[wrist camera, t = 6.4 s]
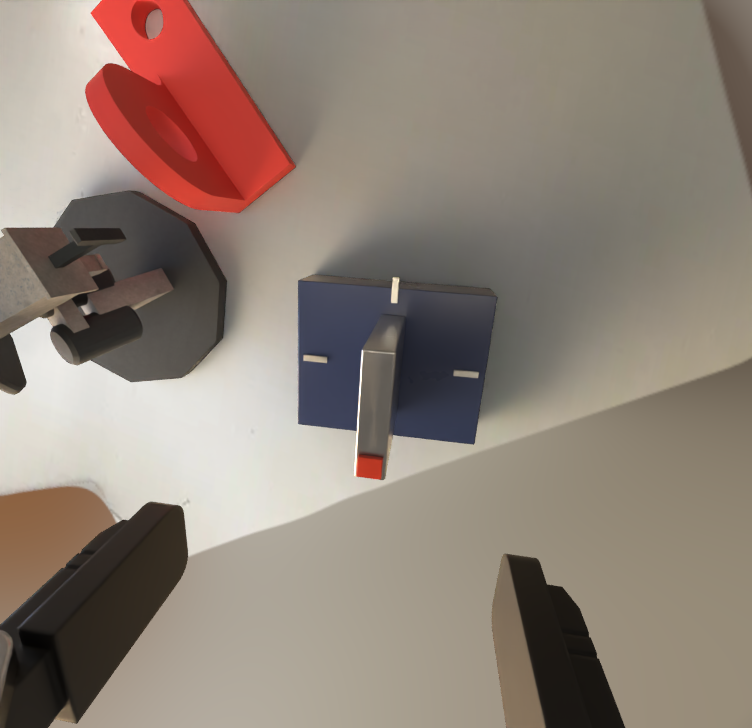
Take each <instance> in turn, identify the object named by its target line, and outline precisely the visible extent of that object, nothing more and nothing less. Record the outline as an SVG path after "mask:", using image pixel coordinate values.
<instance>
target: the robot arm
mask: <svg viewBox="0 0 752 728" xmlns="http://www.w3.org/2000/svg"><path fill="white" fill-rule="evenodd" d="M187 559H188V548H187V539H186V529H185V520H184V512H183V509H182V507H181V506H178V505H171V504H164V503H158V502H149V503H147V504H145V505H144V506H143V507H142V508H141V509H140V510H139V511H138V512H137V513H136V514H135V515H134V516H133V517H132V518H131V519H129V520H122V521H120V522H118V523H117V524H115V525H113V526H111V527H110V528H108V529H106V530H105V531H103V532H101V533H100V534H98V535H97V536H96V537H95V538H94V539H93V540H92V541H91V542H90V543H89V544H88V545H86V546H85V547H84V548H83V549H82V551H81V553H80V554H79V553H78V554H77V555H76V556H74V557H73V558H72V559H71V560H70V561H69V562H68V563H67V564H66V567H65V568H61V569H60V570H59V571H58V572H57V573H56V574H55V575H54V576H53V577H52V578H51V579H49V580H48V581H47V582H46V583H45V584H44V585H43V586H42V587H41V588H40V589H39V590H38V591H36V592H35V593H34V594H33V595H32V596H31V597H30V598H29V599H28V600H27V601H26V602H24V603H23V604H22V605H21V606H20V607H19V608H18V609H17V610H16V611H15V612H14V613H13V614H11V615H10V616H9V617H8V618H7V619H6V620H5V621H4V622H3V623H2V624H0V728H48V727H49V726H50V724H51V723H52V722H53V720H54V719H57V720H62V721H66V722H72V723H76V724H77V723H78V721H79V720H80V719H81V717H82V716H83V714H84V713H85V712H86V710H87V709H88V707H89V706H90V705H91V703H92V702H93V700H94V699H95V698H96V696H97V695H98V694H99V692H100V691H101V689H102V688H103V687H104V685H105V684H106V682H107V681H108V679H109V678H110V677H111V675H112V674H113V673H114V671H115V670H116V668H117V667H118V666H119V664H120V662H121V661H122V660H123V659H124V657H125V656H126V654H127V653H128V652H129V650H130V649H131V647H132V646H133V645H134V643H135V642H136V640H137V639H138V638H139V636H140V635H141V634H142V632H143V631H144V629H145V628H146V627H147V625H148V624H149V622H150V621H151V619H152V618H153V617H154V615H155V614H156V612H157V611H158V610H159V608H160V607H161V606H162V604H163V603H164V601H165V600H166V599H167V597H168V596H169V594H170V593H171V592H172V590H173V589H174V587H175V586H176V585H177V583H178V582H179V580H180V579H181V577H182V575H183V573H184V570H185V568H186V564H187ZM492 632H493V639H494V646H495V653H496V660H497V667H498V674H499V680H500V687H501V694H502V701H503V708H504V715H505V722H506V728H625V726H624V724H623V721H622V718H621V716H620V713H619V710H618V708H617V705H616V702H615V700H614V697H613V694H612V692H611V689H610V687H609V684H608V682H607V679H606V677H605V674H604V671H603V669H602V666H601V663H600V661H599V659H597V653H596V650H595V647H594V645H593V643H592V640H591V638H590V637H589V632H588V629H587V627H586V624H585V622H584V619H583V616H582V614H581V611H580V608H579V607H578V606H577V605H576V603H575V602H574V601H573V600H572V598H571V597H570V596H569V595H568V593H567V592H566V591H565V590H564V589H563V587H559V586H553V585H547V584H546V581H545V577H544V574H543V571H542V568H541V565H540V562H539V560H538V559H537V558H531V557H524V556H517V555H510V554H504V555H503V557H502V560H501V564H500V569H499V574H498V579H497V584H496V589H495V594H494V599H493V605H492Z"/></svg>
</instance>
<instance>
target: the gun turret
mask: <svg viewBox="0 0 752 728" xmlns="http://www.w3.org/2000/svg"><path fill="white" fill-rule="evenodd" d="M1 231H2V233H3V234H4V236H3V237H1V238H0V390H2V391H4V392H6V393H8V394H13V395H15V394H17V393H19V392H20V391H21V390H22V389H23V388H24V387H25V386H26V379H25V375H24V372H23V369H22V366H21V363H20V360H19V357H18V354H17V351H16V348H15V344H14V341H13V338H12V337H11V335H10V333H11V332H13V331H15V330H17V329H18V328H20V327H22V326H24V325H25V324H27V323H29V322H31V321H32V320H34V319H36V318H38V317H42V318H47V319H48V320H49V322H50V323H51V324H52V326H53V328H52V330H51V333H50V336H51V340H52V342H53V345H54V346H55V348H56V350H57V351H58V353H59V354H60V355H61V356H62V358H63V359H64V360H66V361H67V362H68V363H71V364H74V365H80V364H82V363H84V362H87V361H89V360H91V361H93V362H95V363H97V364H98V365H100V366H102V367H104V368H106V369H108V370H110V371H111V372H113V373H115V374H117V375H119V376H121V377H122V378H124V379H126V380H128V381H130V382H139V381H151V380H163V379H175V378H182V377H184V376H186V375H187V374H189V373H190V372H191V371H192V370H193V369H194V368H195V367H196V366H197V365H198V364H199V362H200V361H201V360H202V359H203V358H204V357H205V356H206V355H207V354H208V353H209V352H210V351H211V350H212V349H213V348H214V347H215V346H216V345H217V344H218V343H219V341H220V340H221V339H222V338H223V328H224V312H225V297H226V282H227V281H226V279H225V277H224V275H223V274H222V272H221V270H220V268H219V266H218V265H217V263H216V261H215V259H214V257H213V256H212V254H211V252H210V250H209V248H208V246H207V245H206V243H205V241H204V239H203V237H202V236H201V234H200V232H199V230H198V228H197V226H196V225H195V223H193V222H191V221H190V220H188V219H186V218H184V217H182V216H181V215H179V214H177V213H175V212H174V211H172V210H170V209H168V208H167V207H165V206H163V205H161V204H160V203H158V202H156V201H154V200H153V199H151V198H149V197H147V196H146V195H144V194H142V193H140V192H137V191H123V192H117V193H111V194H105V195H99V196H93V197H87V198H81V199H75V200H72V201H71V202H70V204H69V205H68V207H67V208H66V210H65V211H64V213H63V214H62V216H61V217H60V219H59V220H58V222H57V223H56V224H55V226H54V227H53V228H4V229H2V230H1Z"/></svg>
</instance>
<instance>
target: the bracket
mask: <svg viewBox="0 0 752 728" xmlns="http://www.w3.org/2000/svg"><path fill="white" fill-rule="evenodd" d="M154 9H161V11H162V14H163V28H162V31H161V33H160V34H159V36H157V37H156V38H154V39H150V40H149V39H148V37H147V35H146V31H145V21H146V18H147V15H148V14H149V13H150V12H151V11H152V10H154ZM91 14H92V16H93V17H94V19H95V20H96V21H97V23H98V24H99V26H100V27H101V29H102V30H103V31H104V33H105V34H106V36H107V37H108V39H109V40H110V41H111V43H112V44H113V46H114V47H115V48H116V50H117V51H118V53H119V54H120V56H121V57H122V58H123V60H124V61H125V63H126V64H127V66H128V67H129V68H130V70H131V71H130V70H128V69H126V68H124V67H122V66H120V65H117V64H112V63H108V64H106V65H105V66H104V67H103V68H102V69H101V70H100V71H99V72H98V73H97V74H96V75H95V76H94V77H93V78H92V80H91V81H90V82H89V83H88V84H87V85H86V89H85V93H86V98H87V102H88V104H89V107H90V109H91V111H92V113H93V115H94V117H95V118H96V120H97V122H98V123H99V125H100V126H101V128H102V129H103V131H104V132H105V134H106V135H107V136H108V138H109V139H110V140H111V142H112V143H113V144H114V145H115V146H116V148H117V149H118V150H119V151H120V152H121V153H122V155H123V156H124V157H125V158H126V159H127V160H128V161H129V162H130V163H131V164H132V165H133V166H134V167H135V168H136V169H137V170H138V171H139V172H140V173H141V174H142V175H143V176H145V177H146V178H147V179H148V180H149V181H150V182H151V183H153V184H154V185H155V186H156V187H158V188H159V189H160V190H162V191H163V192H164V193H166V194H167V195H169V196H170V197H172V198H173V199H175V200H176V201H178V202H180V203H182V204H184V205H186V206H188V207H191V208H194V209H197V210H207V211H221V212H234V213H240V212H241V211H242V210H243V209H245V208H246V207H247V206H248V205H249V204H251V203H252V202H253V201H254V200H256V199H257V198H258V197H259V196H261V195H262V194H263V193H264V192H265V191H267V190H268V189H269V188H270V187H272V186H273V185H274V184H275V183H277V182H278V181H279V180H280V179H282V178H283V177H284V176H285V175H286V174H288V173H289V172H290V171H291V170H293V169H294V168H295V167H296V166H295V164H294V163H293V161H292V160H291V158H290V157H289V155H288V154H287V152H286V150H285V149H284V147H283V146H282V144H281V143H280V141H279V140H278V138H277V137H276V135H275V134H274V132H273V131H272V129H271V127H270V126H269V124H268V123H267V121H266V120H265V118H264V117H263V115H262V114H261V112H260V111H259V109H258V108H257V106H256V105H255V103H254V101H253V100H252V98H251V97H250V95H249V94H248V92H247V91H246V89H245V88H244V86H243V85H242V83H241V82H240V80H239V78H238V77H237V75H236V74H235V72H234V71H233V69H232V68H231V66H230V65H229V63H228V62H227V60H226V59H225V57H224V55H223V54H222V52H221V51H220V49H219V48H218V46H217V45H216V43H215V42H214V40H213V39H212V37H211V36H210V34H209V33H208V31H207V29H206V28H205V26H204V25H203V23H202V22H201V20H200V19H199V17H198V16H197V14H196V13H195V11H194V10H193V8H192V6H191V5H190V3H189V2H188V0H102V1H101V2H100V3H99V4H98V5H97V6H96V8H95V9H94V10H93V11H92V12H91Z"/></svg>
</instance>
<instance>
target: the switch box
mask: <svg viewBox="0 0 752 728" xmlns="http://www.w3.org/2000/svg"><path fill="white" fill-rule="evenodd" d="M496 303H497V296H496V295H495V294H494V293H493V292H492V291H491V290H490V289H488V288H475V287H462V286H450V285H437V284H425V283H412V282H400V281H399V277H393V281H387V280H375V279H362V278H350V277H337V276H325V275H311V276H308V277H306V278H303V279H301V280H298V424H302V425H311V426H320V427H328V428H337V429H345V430H354V431H357V419H358V403H359V386H360V370H361V353H362V349H363V347H364V345H365V343H366V342H367V340H368V338H369V336H370V334H371V333H372V331H373V329H374V327H375V326H376V324H377V322H378V320H379V318H380V317H381V315H392V316H403V317H406V322H405V333H404V344H403V354H402V365H401V376H400V386H399V397H398V407H397V416H396V421H395V427H394V432H393V435H397V436H405V437H414V438H422V439H431V440H440V441H448V442H457V443H465V444H474V443H475V437H476V431H477V424H478V418H479V411H480V405H481V399H482V392H483V386H484V380H485V373H486V367H487V361H488V354H489V348H490V342H491V335H492V329H493V322H494V316H495V310H496Z"/></svg>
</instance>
